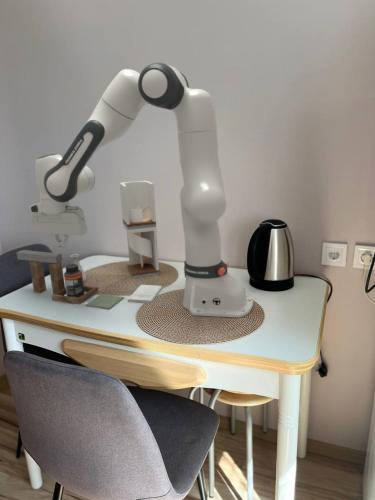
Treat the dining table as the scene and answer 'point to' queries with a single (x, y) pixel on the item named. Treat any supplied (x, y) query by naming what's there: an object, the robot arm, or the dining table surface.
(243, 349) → the dining table surface
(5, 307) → the dining table surface
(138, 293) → the external hard drive
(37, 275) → the holder
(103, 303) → the mat
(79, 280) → the supplement bottle
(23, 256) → the grey rectangular bar
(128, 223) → the candle lantern
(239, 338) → the dining table surface
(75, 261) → the flask
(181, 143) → the robot arm
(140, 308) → the dining table surface
